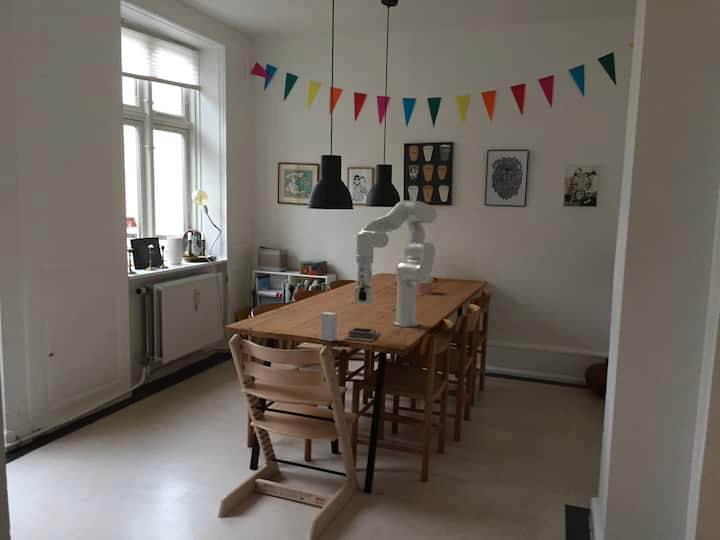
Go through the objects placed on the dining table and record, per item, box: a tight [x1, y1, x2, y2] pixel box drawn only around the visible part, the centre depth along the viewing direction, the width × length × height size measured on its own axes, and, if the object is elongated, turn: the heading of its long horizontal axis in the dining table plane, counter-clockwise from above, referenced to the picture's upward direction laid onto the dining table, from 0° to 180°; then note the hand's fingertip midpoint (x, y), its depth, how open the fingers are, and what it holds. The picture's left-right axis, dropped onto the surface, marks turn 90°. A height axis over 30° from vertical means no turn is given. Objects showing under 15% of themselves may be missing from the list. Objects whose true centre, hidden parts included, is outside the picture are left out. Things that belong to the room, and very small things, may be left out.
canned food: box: [414, 274, 433, 295], centre depth 381 cm, size 11×11×12 cm
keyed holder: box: [343, 326, 381, 343], centre depth 261 cm, size 16×13×3 cm
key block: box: [354, 285, 374, 305], centre depth 258 cm, size 7×4×7 cm, turn 77°
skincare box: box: [320, 311, 338, 342], centre depth 253 cm, size 6×4×12 cm
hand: (363, 299), depth 259 cm, fingers closed on key block, 4 cm apart
